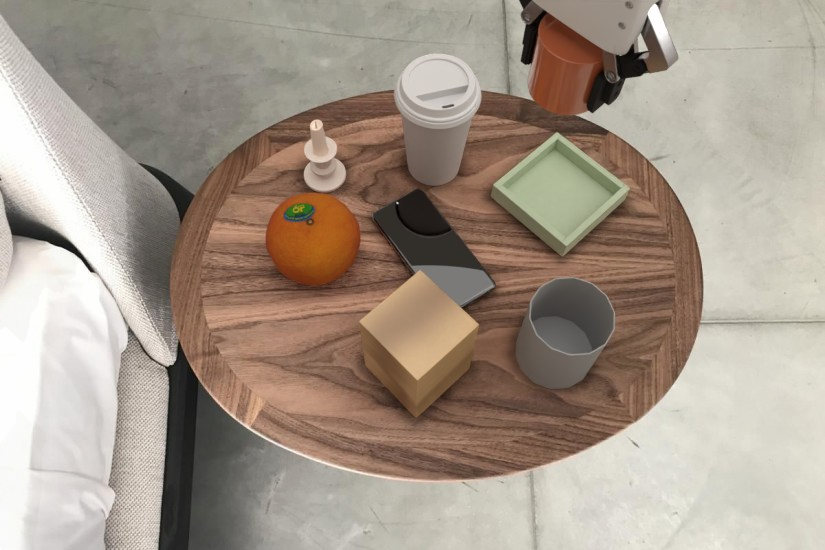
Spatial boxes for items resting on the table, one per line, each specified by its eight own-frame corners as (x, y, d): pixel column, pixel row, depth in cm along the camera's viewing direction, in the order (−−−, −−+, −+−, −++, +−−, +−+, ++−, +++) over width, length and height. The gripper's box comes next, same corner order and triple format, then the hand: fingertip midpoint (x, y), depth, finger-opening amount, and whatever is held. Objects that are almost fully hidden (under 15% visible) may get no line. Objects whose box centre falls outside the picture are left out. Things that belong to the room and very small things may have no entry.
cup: (504, 328, 80) (516, 289, 71) (572, 308, 81) (593, 267, 72) (532, 399, 76) (549, 366, 67) (604, 377, 77) (629, 342, 69)
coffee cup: (390, 192, 88) (388, 111, 75) (400, 130, 93) (399, 43, 79) (468, 200, 88) (479, 120, 74) (474, 137, 92) (486, 52, 79)
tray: (624, 200, 88) (630, 188, 86) (562, 257, 84) (566, 246, 82) (553, 144, 92) (557, 131, 89) (490, 196, 88) (492, 184, 86)
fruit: (379, 267, 83) (376, 231, 76) (301, 312, 81) (291, 280, 74) (331, 202, 87) (325, 163, 80) (256, 244, 85) (242, 207, 78)
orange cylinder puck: (617, 86, 61) (637, 33, 56) (569, 128, 59) (585, 77, 54) (560, 46, 63) (574, -9, 58) (511, 85, 61) (521, 32, 56)
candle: (314, 199, 88) (303, 146, 78) (297, 168, 90) (285, 113, 81) (353, 183, 89) (346, 129, 80) (335, 152, 91) (327, 97, 82)
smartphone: (446, 317, 79) (368, 213, 85) (445, 321, 80) (369, 218, 86) (499, 284, 81) (420, 185, 87) (498, 289, 82) (420, 190, 88)
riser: (469, 368, 78) (479, 324, 67) (416, 418, 75) (417, 380, 65) (418, 319, 80) (420, 269, 70) (365, 365, 78) (358, 321, 67)
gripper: (778, -86, 43) (677, 112, 59) (556, -208, 49) (519, 3, 65) (705, -25, 41) (620, 164, 56) (480, -161, 46) (461, 46, 62)
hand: (567, 77), depth 60 cm, fingers closed on orange cylinder puck, 6 cm apart
